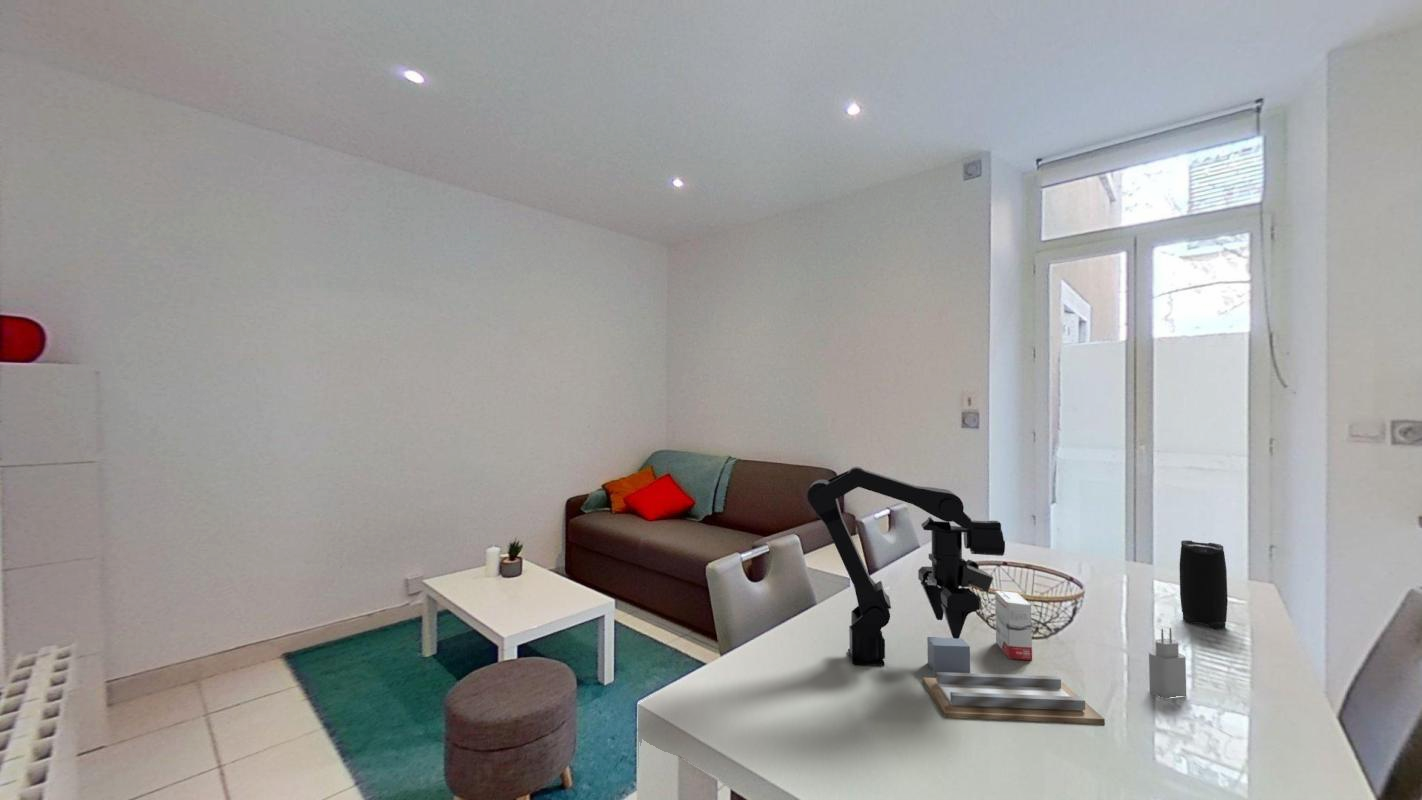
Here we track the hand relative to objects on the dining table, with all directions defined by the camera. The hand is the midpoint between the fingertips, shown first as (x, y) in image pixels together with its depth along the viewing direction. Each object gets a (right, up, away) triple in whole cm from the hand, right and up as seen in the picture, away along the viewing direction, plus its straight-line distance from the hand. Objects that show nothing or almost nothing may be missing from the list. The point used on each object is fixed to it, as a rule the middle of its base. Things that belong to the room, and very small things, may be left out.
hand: (947, 628), depth 108 cm
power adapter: (+36, -8, -10) cm, 39 cm away
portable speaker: (+73, -8, +22) cm, 77 cm away
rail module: (0, -8, 0) cm, 8 cm away
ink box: (+18, -8, +7) cm, 21 cm away
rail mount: (+5, -8, -13) cm, 16 cm away
